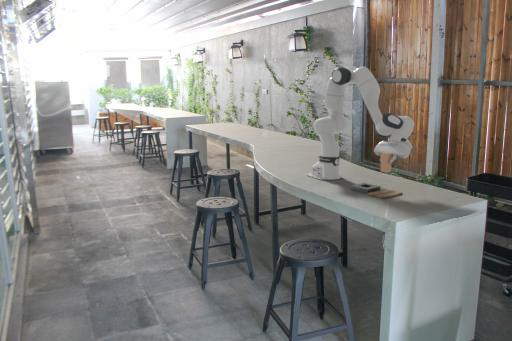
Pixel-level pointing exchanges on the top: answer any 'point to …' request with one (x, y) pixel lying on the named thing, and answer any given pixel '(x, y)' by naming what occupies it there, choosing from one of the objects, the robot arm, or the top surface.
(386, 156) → the peg
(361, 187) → the socket
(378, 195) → the board
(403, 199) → the top surface
